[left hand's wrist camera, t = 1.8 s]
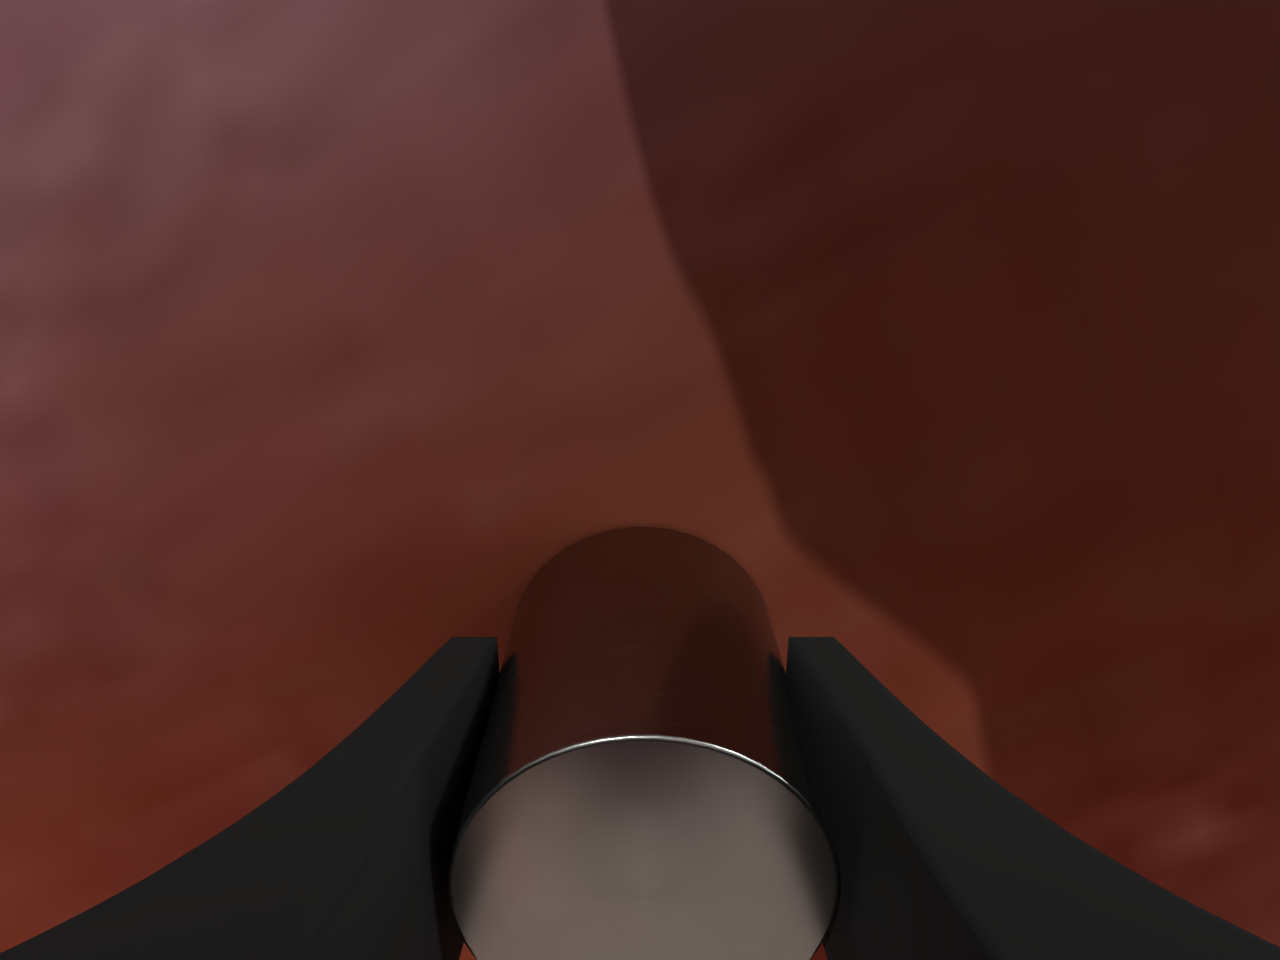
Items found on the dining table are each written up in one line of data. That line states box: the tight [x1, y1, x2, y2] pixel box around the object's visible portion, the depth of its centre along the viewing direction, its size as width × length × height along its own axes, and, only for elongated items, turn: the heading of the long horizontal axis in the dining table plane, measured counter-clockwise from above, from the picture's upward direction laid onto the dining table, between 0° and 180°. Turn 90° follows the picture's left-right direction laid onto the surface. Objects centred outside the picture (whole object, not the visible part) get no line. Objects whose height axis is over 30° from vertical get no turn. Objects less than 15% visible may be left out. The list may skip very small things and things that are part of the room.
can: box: [447, 527, 840, 960], centre depth 10 cm, size 4×4×5 cm
